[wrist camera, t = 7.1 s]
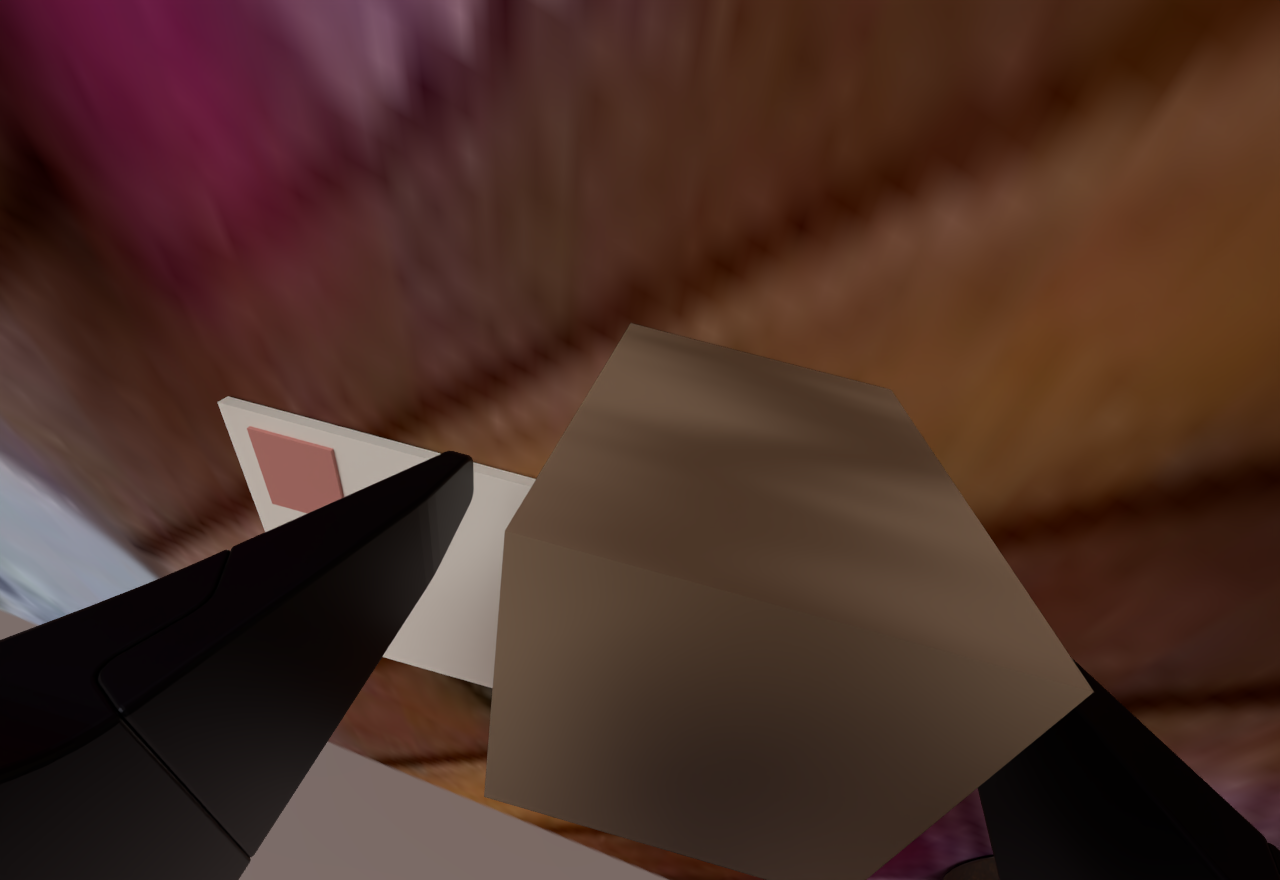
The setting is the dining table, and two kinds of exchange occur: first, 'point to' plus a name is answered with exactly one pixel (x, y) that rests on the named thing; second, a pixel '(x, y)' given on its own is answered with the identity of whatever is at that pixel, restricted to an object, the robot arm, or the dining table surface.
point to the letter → (351, 460)
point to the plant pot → (975, 870)
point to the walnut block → (757, 622)
